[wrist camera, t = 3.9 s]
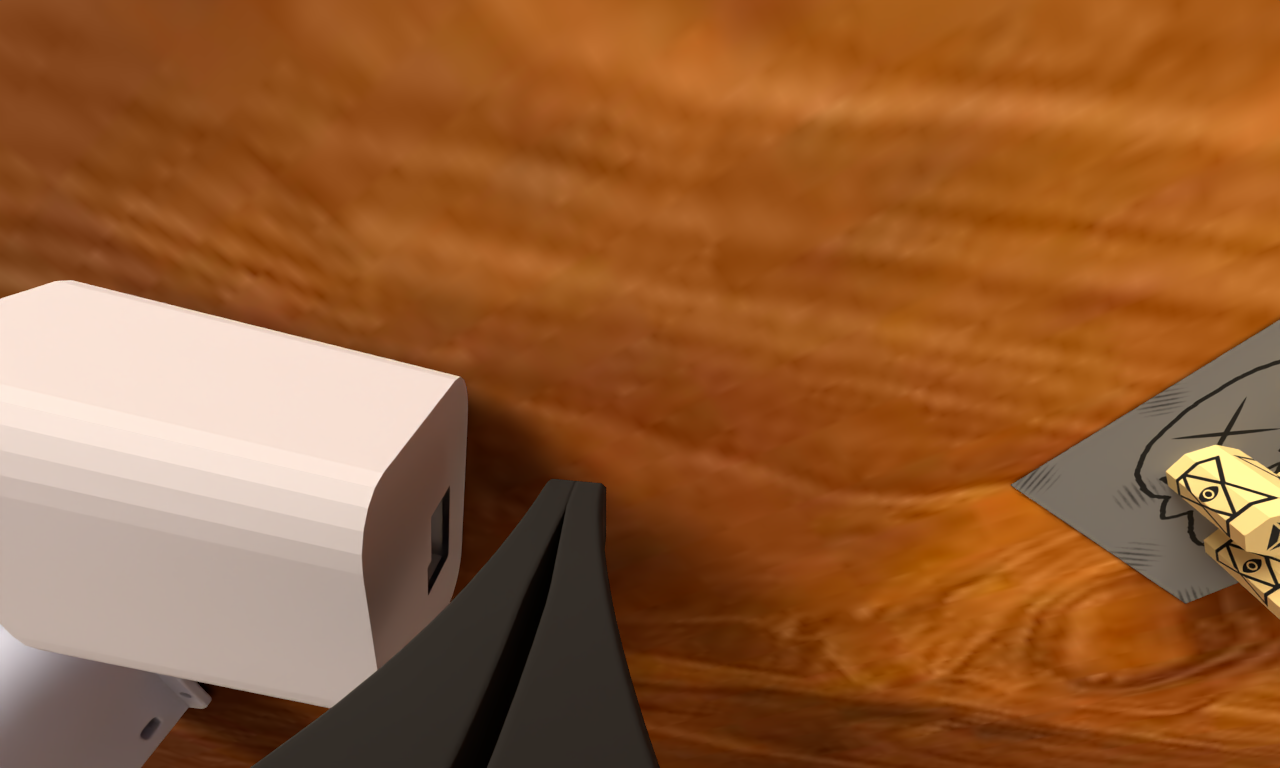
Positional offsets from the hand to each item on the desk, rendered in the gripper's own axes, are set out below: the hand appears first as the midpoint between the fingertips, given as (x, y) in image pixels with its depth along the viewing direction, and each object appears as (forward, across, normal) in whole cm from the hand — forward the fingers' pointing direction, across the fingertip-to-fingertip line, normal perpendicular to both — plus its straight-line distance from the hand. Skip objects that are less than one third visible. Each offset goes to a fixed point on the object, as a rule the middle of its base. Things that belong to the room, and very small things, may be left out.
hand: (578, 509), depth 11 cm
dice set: (+2, -16, -2) cm, 17 cm away
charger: (+2, +11, 0) cm, 11 cm away
